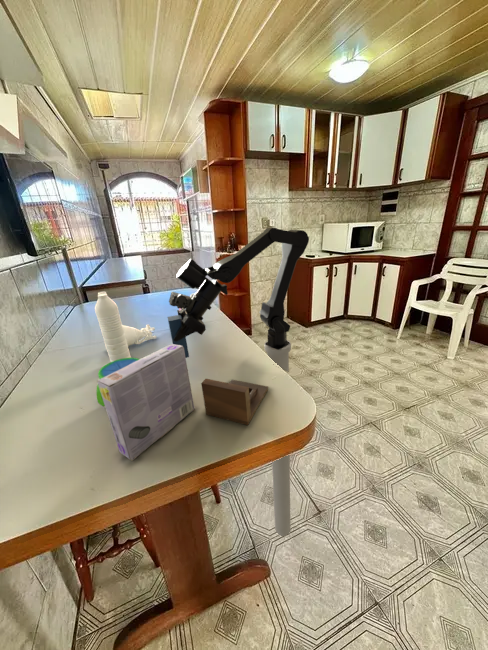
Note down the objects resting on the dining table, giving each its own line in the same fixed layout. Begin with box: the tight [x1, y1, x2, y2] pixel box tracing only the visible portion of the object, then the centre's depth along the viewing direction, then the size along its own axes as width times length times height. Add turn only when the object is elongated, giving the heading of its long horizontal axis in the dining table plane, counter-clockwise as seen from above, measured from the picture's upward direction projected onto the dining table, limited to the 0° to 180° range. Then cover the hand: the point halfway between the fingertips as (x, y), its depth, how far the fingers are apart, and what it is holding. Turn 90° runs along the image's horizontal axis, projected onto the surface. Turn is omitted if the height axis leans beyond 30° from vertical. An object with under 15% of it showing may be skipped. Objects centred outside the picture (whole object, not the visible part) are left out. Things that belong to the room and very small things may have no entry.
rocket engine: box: [104, 324, 157, 351], centre depth 103 cm, size 12×12×18 cm
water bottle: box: [94, 290, 132, 363], centre depth 86 cm, size 9×6×25 cm
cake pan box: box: [96, 343, 196, 462], centre depth 58 cm, size 19×5×18 cm, turn 145°
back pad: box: [167, 314, 190, 359], centre depth 82 cm, size 4×4×13 cm
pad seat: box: [200, 378, 269, 426], centre depth 66 cm, size 14×11×9 cm
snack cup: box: [95, 357, 141, 408], centre depth 70 cm, size 16×10×10 cm
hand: (173, 338), depth 82 cm, fingers closed on back pad, 4 cm apart
